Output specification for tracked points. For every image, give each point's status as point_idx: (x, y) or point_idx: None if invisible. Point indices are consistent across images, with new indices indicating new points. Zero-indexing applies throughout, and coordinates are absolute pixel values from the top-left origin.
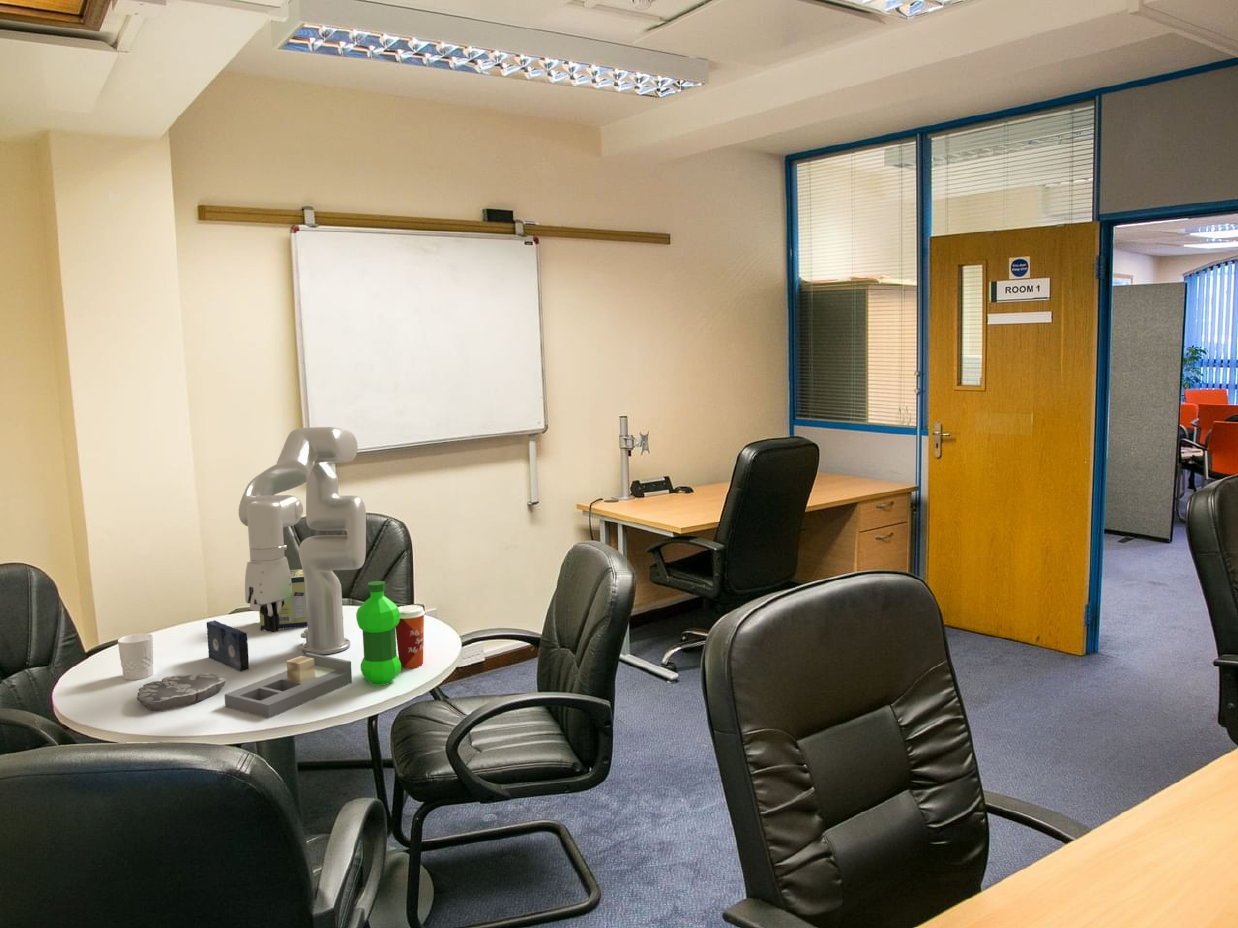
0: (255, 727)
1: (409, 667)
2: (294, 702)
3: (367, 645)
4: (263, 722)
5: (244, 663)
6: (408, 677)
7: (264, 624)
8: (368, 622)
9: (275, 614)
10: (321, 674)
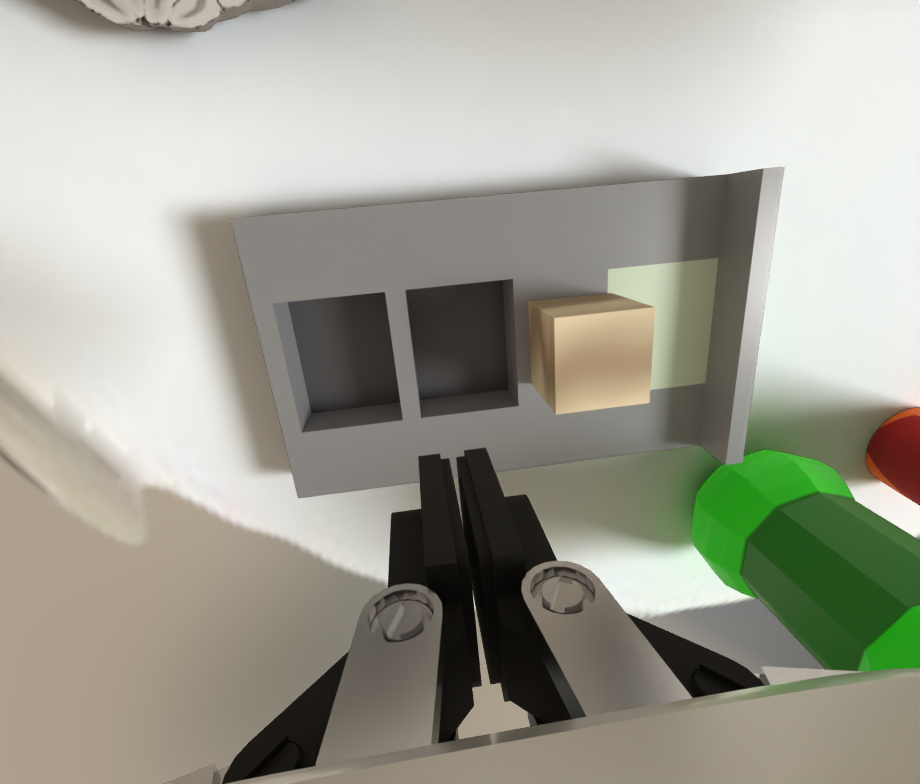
0: (233, 503)
1: (870, 470)
2: None
3: (796, 605)
4: (274, 487)
5: None
6: None
7: (392, 532)
8: None
9: (504, 679)
10: None
